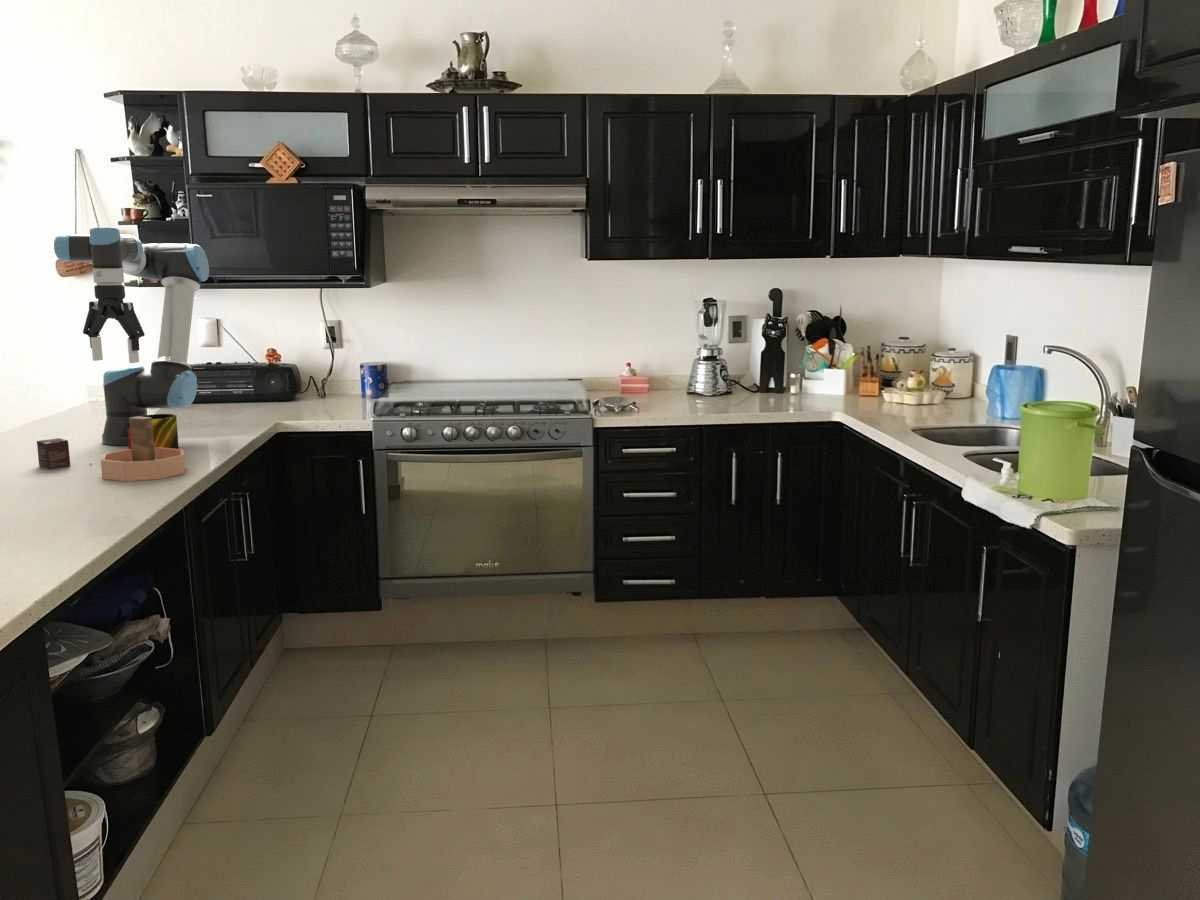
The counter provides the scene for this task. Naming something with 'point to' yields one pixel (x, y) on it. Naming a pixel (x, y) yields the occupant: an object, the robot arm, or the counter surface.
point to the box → (53, 453)
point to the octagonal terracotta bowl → (143, 465)
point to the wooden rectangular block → (142, 438)
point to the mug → (162, 431)
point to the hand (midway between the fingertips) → (115, 361)
